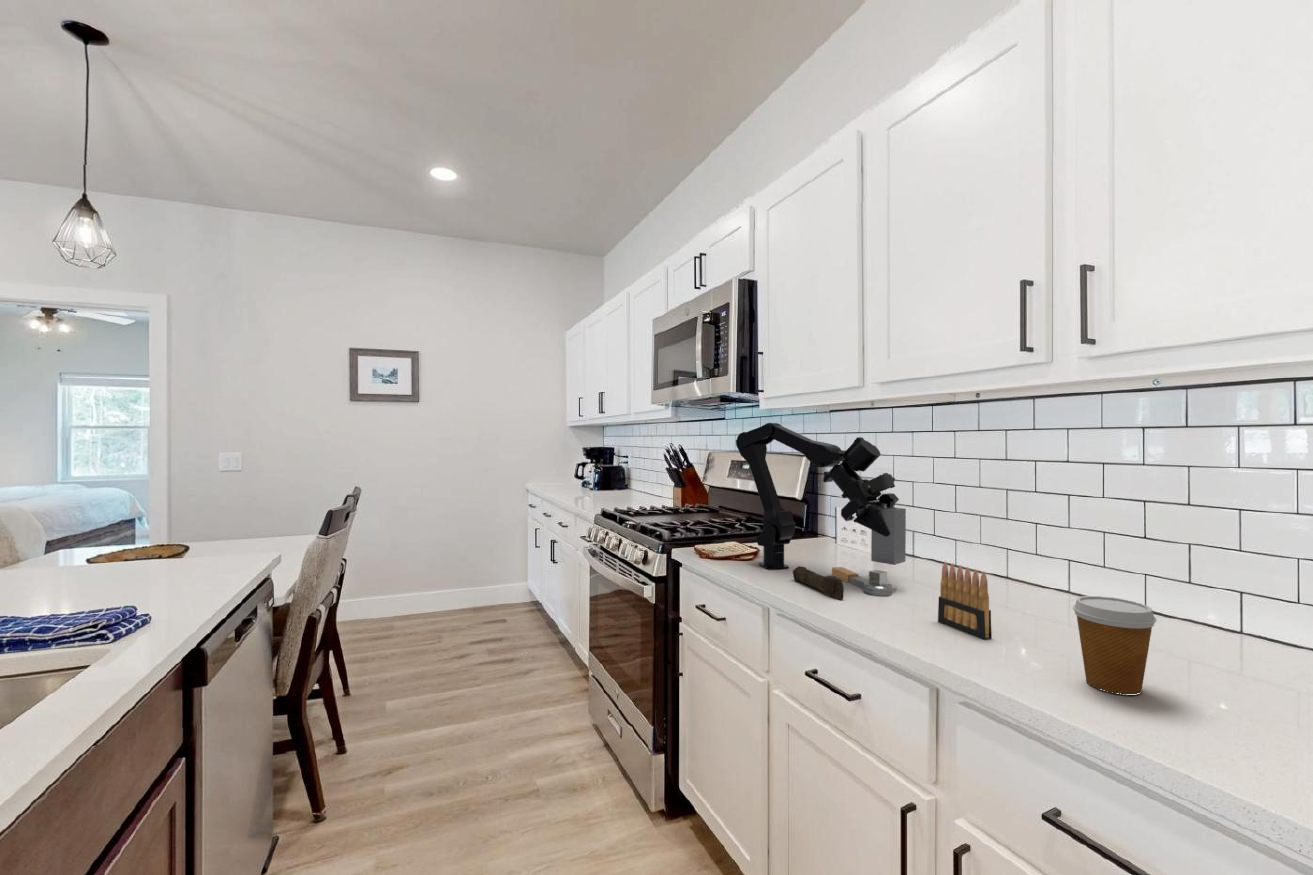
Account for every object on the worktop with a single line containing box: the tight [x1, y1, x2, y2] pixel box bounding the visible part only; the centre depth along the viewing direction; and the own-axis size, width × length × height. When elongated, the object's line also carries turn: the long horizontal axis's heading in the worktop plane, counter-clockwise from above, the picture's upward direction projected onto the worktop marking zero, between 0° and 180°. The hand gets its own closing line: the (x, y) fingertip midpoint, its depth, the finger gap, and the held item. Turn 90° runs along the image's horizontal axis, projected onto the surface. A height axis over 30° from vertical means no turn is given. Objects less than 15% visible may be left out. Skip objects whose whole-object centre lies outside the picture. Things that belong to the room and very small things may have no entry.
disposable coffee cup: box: [1072, 595, 1158, 694], centre depth 84 cm, size 10×10×12 cm
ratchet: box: [831, 566, 893, 598], centre depth 142 cm, size 22×6×5 cm, turn 12°
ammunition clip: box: [937, 561, 993, 641], centre depth 108 cm, size 11×2×12 cm, turn 19°
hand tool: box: [792, 565, 845, 601], centre depth 137 cm, size 19×4×5 cm, turn 13°
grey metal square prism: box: [870, 506, 907, 566], centre depth 137 cm, size 6×6×12 cm
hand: (894, 534), depth 136 cm, fingers closed on grey metal square prism, 6 cm apart
